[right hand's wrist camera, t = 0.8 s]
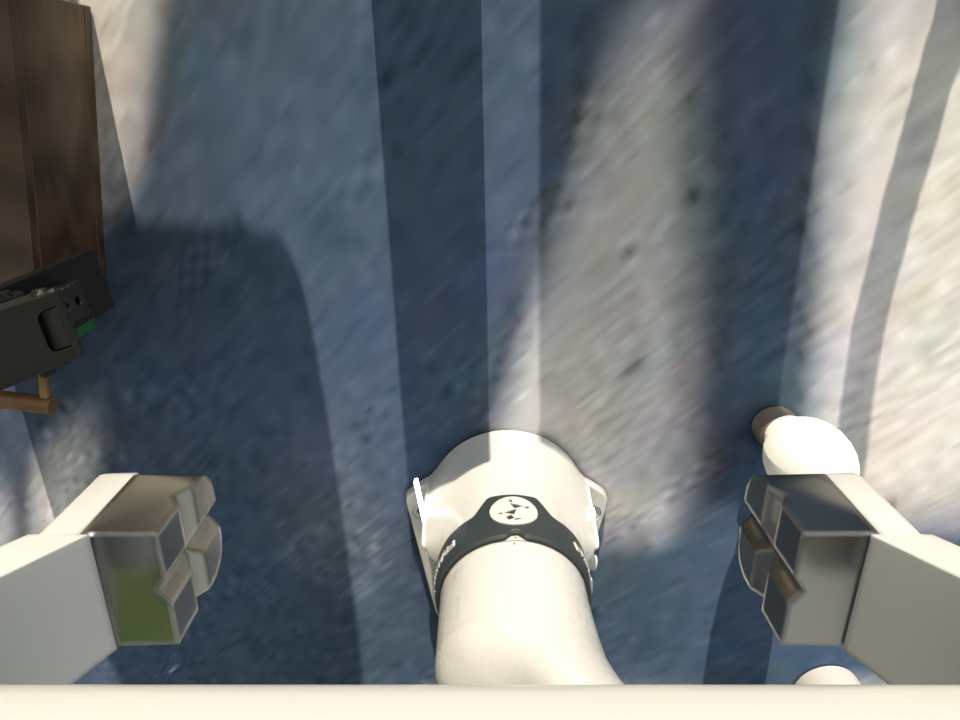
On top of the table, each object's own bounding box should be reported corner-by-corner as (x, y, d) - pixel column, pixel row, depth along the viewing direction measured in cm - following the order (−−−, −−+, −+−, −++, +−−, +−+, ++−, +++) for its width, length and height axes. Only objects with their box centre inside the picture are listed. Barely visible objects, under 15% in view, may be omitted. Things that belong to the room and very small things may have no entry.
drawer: (99, 387, 59) (49, 427, 52) (-8, 373, 58) (-73, 411, 51) (78, 63, 49) (13, 59, 42) (-50, 43, 49) (-137, 35, 42)
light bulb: (730, 452, 62) (779, 523, 52) (747, 385, 60) (803, 446, 49) (802, 459, 62) (865, 531, 52) (822, 392, 60) (893, 454, 50)
